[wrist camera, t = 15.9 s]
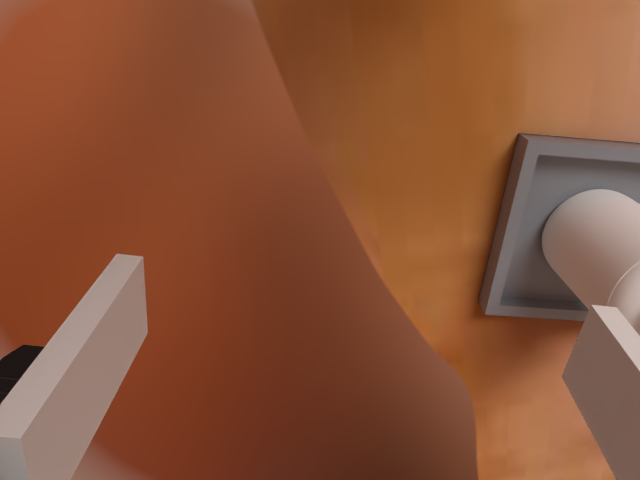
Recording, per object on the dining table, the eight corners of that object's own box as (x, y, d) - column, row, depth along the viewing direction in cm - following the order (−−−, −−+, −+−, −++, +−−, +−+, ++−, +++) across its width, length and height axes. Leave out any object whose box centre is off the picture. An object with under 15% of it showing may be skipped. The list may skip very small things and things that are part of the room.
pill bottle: (628, 272, 45) (762, 393, 31) (533, 276, 45) (626, 398, 32) (648, 183, 42) (808, 275, 28) (545, 188, 42) (655, 282, 28)
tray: (518, 133, 41) (528, 140, 39) (709, 148, 41) (727, 156, 39) (478, 301, 47) (484, 314, 45) (643, 312, 47) (657, 326, 46)
